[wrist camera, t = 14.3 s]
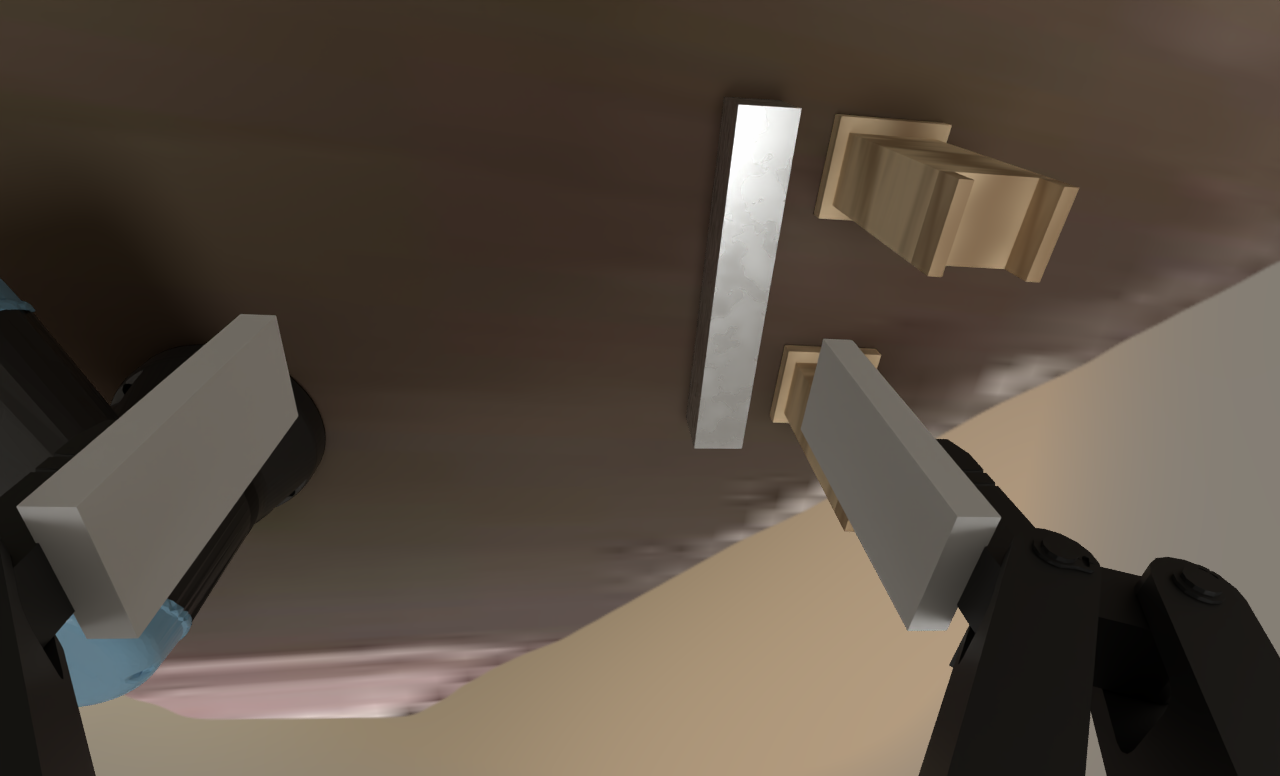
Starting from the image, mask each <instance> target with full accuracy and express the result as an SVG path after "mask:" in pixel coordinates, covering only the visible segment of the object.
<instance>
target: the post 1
mask: <svg viewBox="0 0 1280 776" xmlns="http://www.w3.org/2000/svg"><path fill="white" fill-rule="evenodd" d="M859 349H860V350H861V351H862V352H863V353H864V355H865V356H866V357H867V358H868V359H869V361H870V362H871V363H872V364H873V365H874V367H875V368H876V369H877V367H878V364H879V361H880V357H881V354H880V353H879V352H878V351H877V350H876V349H871V348H859ZM820 350H821V346H798V345H785V347H784V351H783V356H782V360H781V365H780V369H779V374H778V378H777V383H776V388H775V392H774V397H773V401H772V406H771V410H770V417H771V419H772V421H773V422H778V423H789V424H790V426H791V428H792V430H793V432H794V434H795V436H796V438H797V439H798V441H799V443H800V445H801V447H802V449H803V451H804V453H805V455H806V457H807V459H808V461H809V463H810V465H811V467H812V469H813V471H814V473H815V475H816V477H817V479H818V481H819V482H820V484H821V486H822V488H823V490H824V492H825V494H826V496H827V498H828V500H829V502H830V504H831V506H832V508H833V510H834V511H835V514H836V516H837V518H838V519H839V522H840V523H841V525H842V527H843V529H844V531H850V532H855V531H854V529H853V527H852V525H851V523H850V521H849V520H848V518H847V516H846V514H845V512H844V510H843V508H842V506H841V504H840V503H839V501H838V499H837V497H836V495H835V493H834V491H833V489H832V488H831V486H830V484H829V482H828V480H827V478H826V476H825V474H824V473H823V471H822V469H821V467H820V465H819V463H818V461H817V459H816V457H815V456H814V454H813V452H812V450H811V448H810V446H809V444H808V442H807V441H806V439H805V437H804V435H803V433H802V431H801V425H802V422H803V418H804V414H805V410H806V406H807V402H808V398H809V394H810V390H811V386H812V382H813V378H814V374H815V370H816V366H817V362H818V358H819V354H820Z"/></svg>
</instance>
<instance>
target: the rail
mask: <svg viewBox="0 0 1280 776" xmlns="http://www.w3.org/2000/svg"><path fill="white" fill-rule="evenodd" d="M800 114H801V108H799V107H796V106H794V105H791V104H789V103H786V102H784V101H781V100H767V99H751V98H735V97H724V101H723V109H722V118H721V126H720V135H719V143H718V152H717V160H716V168H715V177H714V185H713V194H712V202H711V211H710V219H709V228H708V236H707V245H706V253H705V262H704V270H703V279H702V287H701V295H700V304H699V312H698V321H697V329H696V338H695V346H694V355H693V363H692V372H691V380H690V389H689V397H688V406H687V414H686V419H687V423H688V426H689V430H690V434H691V438H692V442H693V445H694V448H729V449H742V444H743V439H744V433H745V427H746V422H747V416H748V410H749V404H750V399H751V393H752V387H753V382H754V376H755V370H756V364H757V359H758V353H759V347H760V342H761V336H762V330H763V325H764V319H765V313H766V307H767V302H768V296H769V290H770V285H771V279H772V273H773V268H774V262H775V256H776V250H777V245H778V239H779V233H780V228H781V222H782V216H783V211H784V205H785V199H786V193H787V188H788V182H789V176H790V171H791V165H792V159H793V154H794V148H795V142H796V136H797V131H798V125H799V119H800Z"/></svg>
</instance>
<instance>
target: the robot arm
mask: <svg viewBox="0 0 1280 776" xmlns="http://www.w3.org/2000/svg"><path fill="white" fill-rule="evenodd" d="M35 311H36V310H35V309H34V308H33V307H32V305H31V304H29V303H27V302H25V301H21V300H20V299H19V298H18V297H17V295H16V294H15V293H14V292H13V291H12V290H11V289H10V288H9V287H8V286H7V285H6V283H5V282H4V281H3V280H2V279H1V278H0V776H96V775H95V771H94V767H93V764H92V760H91V756H90V752H89V748H88V744H87V740H86V736H85V732H84V728H83V724H82V720H81V716H80V713H79V709H78V707H82V706H88V705H94V704H98V703H102V702H106V701H109V700H112V699H114V698H117V697H120V696H122V695H124V694H126V693H128V692H130V691H132V690H134V689H135V688H137V687H138V686H140V685H141V684H143V683H144V682H145V681H146V680H147V679H149V678H150V677H151V676H152V675H153V674H154V672H155V671H156V670H157V669H158V667H159V666H160V665H161V663H162V662H163V661H164V659H165V658H166V657H167V656H168V654H169V653H170V652H171V650H172V649H173V648H174V647H175V645H176V644H177V643H178V641H180V640H181V639H182V638H183V637H184V636H185V635H186V634H187V633H188V631H189V629H190V627H191V625H192V621H193V619H194V618H195V616H196V615H197V613H198V612H199V610H200V608H201V607H202V605H203V604H204V602H205V601H206V599H207V597H208V596H209V594H210V593H211V591H212V589H213V588H214V586H215V585H216V583H217V582H218V580H219V578H220V577H221V575H222V574H223V572H224V570H225V569H226V567H227V566H228V564H229V563H230V561H231V559H232V558H233V556H234V555H235V553H236V552H237V550H238V548H239V547H240V545H241V544H242V542H243V541H244V539H245V538H246V536H247V535H248V533H249V532H250V530H251V529H252V527H253V525H254V524H255V523H257V522H258V521H260V520H261V519H262V518H264V517H265V516H266V515H268V514H269V513H270V512H271V511H272V510H273V508H275V507H277V506H279V505H281V504H283V503H285V502H287V501H288V500H290V499H291V498H292V497H294V496H295V495H296V494H297V493H299V492H300V491H301V490H302V489H303V487H304V486H305V485H306V484H307V483H308V481H309V480H310V478H311V477H312V475H313V473H314V472H315V470H316V468H317V467H318V465H319V463H320V461H321V459H322V456H323V453H324V447H325V432H324V427H323V423H322V420H321V417H320V415H319V412H318V410H317V408H316V407H315V405H314V403H313V402H312V400H311V399H310V397H309V396H308V395H307V394H306V392H305V391H304V390H303V389H302V388H301V387H300V386H299V385H298V384H297V383H296V382H295V381H294V380H293V379H292V378H290V376H289V372H288V367H287V363H286V358H285V354H284V349H283V345H282V340H281V336H280V331H279V327H278V322H277V318H276V315H252V314H240V315H239V316H238V317H237V318H235V319H234V320H233V321H232V322H231V323H230V324H228V325H227V326H226V327H225V328H224V329H223V330H221V331H220V332H219V333H218V334H217V335H216V336H214V337H213V338H212V339H211V340H210V341H209V342H207V343H206V344H205V345H189V346H182V347H177V348H173V349H169V350H167V351H164V352H162V353H159V354H157V355H156V356H154V357H152V358H151V359H149V360H148V361H146V362H145V363H144V364H143V365H141V366H140V367H139V368H138V369H136V370H135V371H134V372H133V373H131V374H130V375H129V376H128V377H127V378H126V379H125V380H124V381H123V383H122V384H121V385H120V387H119V388H118V390H117V392H116V393H115V396H114V398H113V400H112V403H111V406H109V404H108V403H107V402H106V401H105V400H104V398H103V397H102V396H101V395H100V393H99V392H98V391H97V390H96V389H95V387H94V386H93V385H92V384H91V383H90V381H89V380H88V379H87V378H86V376H85V375H84V374H83V373H82V372H81V370H80V369H79V368H78V367H77V365H76V364H75V363H74V362H73V361H72V359H71V358H70V357H69V356H68V355H67V353H66V352H65V351H64V350H63V348H62V347H61V346H60V345H59V344H58V342H57V341H56V340H55V339H54V338H53V336H52V335H51V334H50V333H49V331H48V330H47V329H46V328H45V327H44V325H43V324H42V323H41V322H40V321H39V319H38V318H37V317H36V316H35V314H34V313H33V312H35ZM801 431H802V433H803V435H804V437H805V439H806V441H807V442H808V444H809V446H810V448H811V450H812V452H813V454H814V456H815V457H816V459H817V461H818V463H819V465H820V467H821V469H822V471H823V473H824V474H825V476H826V478H827V480H828V482H829V484H830V486H831V488H832V489H833V491H834V493H835V495H836V497H837V499H838V501H839V503H840V504H841V506H842V508H843V510H844V512H845V514H846V516H847V518H848V520H849V521H850V523H851V525H852V527H853V529H854V531H855V533H856V535H857V536H858V538H859V540H860V542H861V544H862V546H863V548H864V550H865V552H866V553H867V555H868V557H869V559H870V561H871V563H872V565H873V567H874V568H875V570H876V572H877V574H878V576H879V578H880V580H881V582H882V583H883V585H884V587H885V589H886V591H887V593H888V595H889V597H890V599H891V600H892V602H893V604H894V606H895V608H896V610H897V612H898V614H899V615H900V617H901V619H902V621H903V623H904V625H905V627H906V629H907V630H908V631H930V630H932V631H933V630H934V631H936V630H947V629H948V627H949V625H950V623H951V620H952V618H953V616H954V614H955V612H956V610H957V608H959V609H960V611H961V612H962V614H963V615H964V617H965V619H966V620H967V622H968V623H969V627H968V629H967V631H966V633H965V635H964V637H963V639H962V641H961V643H960V645H959V647H958V649H957V651H956V653H955V655H954V657H953V658H952V660H951V662H950V666H951V667H953V670H952V674H951V676H950V680H949V683H948V686H947V689H946V692H945V695H944V698H943V701H942V704H941V708H940V711H939V714H938V717H937V721H936V723H935V726H934V729H933V733H932V735H931V739H930V742H929V745H928V748H927V751H926V754H925V757H924V760H923V763H922V767H921V770H920V773H919V776H1085V770H1086V758H1087V747H1088V735H1089V724H1090V723H1089V722H1090V712H1091V714H1092V718H1093V722H1094V726H1095V730H1096V734H1097V738H1098V742H1099V746H1100V750H1101V754H1102V758H1103V762H1104V766H1105V770H1106V774H1107V776H1280V657H1279V656H1278V654H1277V652H1276V650H1275V649H1274V647H1273V645H1272V644H1271V642H1270V640H1269V638H1268V637H1267V635H1266V633H1265V632H1264V630H1263V628H1262V626H1261V625H1260V623H1259V621H1258V620H1257V618H1256V616H1255V614H1254V613H1253V611H1252V609H1251V608H1250V606H1249V604H1248V602H1247V601H1246V600H1245V598H1244V597H1243V596H1242V595H1241V594H1240V592H1239V591H1238V590H1237V589H1236V588H1234V586H1232V585H1231V584H1230V583H1228V582H1227V581H1226V580H1224V579H1223V578H1222V577H1221V576H1220V575H1218V574H1216V573H1215V572H1213V571H1209V569H1207V568H1205V567H1203V566H1201V565H1197V564H1194V563H1191V562H1188V561H1186V560H1182V559H1176V558H1170V557H1163V558H1156V559H1155V560H1154V561H1152V562H1151V563H1150V565H1149V566H1148V567H1147V569H1146V570H1145V572H1144V573H1143V575H1142V576H1137V575H1133V574H1129V573H1125V572H1121V571H1116V570H1112V569H1108V568H1103V567H1100V564H1099V563H1098V561H1097V560H1096V559H1095V558H1094V557H1093V555H1092V554H1091V553H1090V552H1089V551H1088V550H1086V549H1085V548H1084V547H1082V546H1081V545H1080V544H1079V543H1077V542H1075V541H1073V540H1072V539H1069V538H1068V537H1066V536H1064V535H1062V534H1059V533H1056V532H1053V531H1050V530H1046V529H1040V528H1035V527H1034V526H1033V525H1032V524H1031V523H1030V521H1029V520H1028V519H1027V518H1026V517H1025V516H1024V515H1023V514H1022V513H1021V511H1020V510H1019V509H1018V508H1017V507H1016V506H1015V505H1014V504H1013V502H1012V501H1011V500H1010V499H1009V498H1008V497H1007V496H1006V495H1005V493H1004V492H1003V491H1002V490H1001V489H1000V488H999V487H998V486H995V482H994V481H993V480H992V479H991V478H990V477H989V476H988V474H987V473H983V469H982V468H981V466H980V465H978V463H977V462H976V461H975V460H974V459H973V458H972V456H971V455H970V454H969V453H967V452H965V451H964V450H963V449H961V448H960V447H958V446H957V445H955V444H954V443H952V442H951V441H949V440H947V439H935V438H934V437H933V435H932V434H931V433H930V432H929V431H928V429H927V428H926V427H925V426H924V425H923V424H922V422H921V421H920V420H919V419H918V418H917V416H916V415H915V414H914V413H913V412H912V410H911V409H910V408H909V407H908V406H907V405H906V403H905V402H904V401H903V400H902V399H901V397H900V396H899V395H898V394H897V393H896V391H895V390H894V389H893V388H892V387H891V386H890V384H889V383H888V382H887V381H886V380H885V378H884V377H883V376H882V375H881V374H880V372H879V371H878V370H877V369H876V368H875V367H874V365H873V364H872V363H871V362H870V361H869V359H868V358H867V357H866V356H865V355H864V353H863V352H862V351H861V350H860V349H859V348H858V346H857V345H856V344H855V343H854V342H853V340H838V339H823V342H822V346H821V350H820V354H819V358H818V362H817V366H816V370H815V374H814V378H813V382H812V386H811V390H810V394H809V398H808V402H807V406H806V410H805V414H804V418H803V422H802V425H801Z"/></svg>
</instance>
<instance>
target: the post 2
mask: <svg viewBox="0 0 1280 776" xmlns="http://www.w3.org/2000/svg"><path fill="white" fill-rule="evenodd" d="M951 126H952V125H949V124H946V123H940V122H928V121H916V120H904V119H892V118H880V117H868V116H856V115H844V114H835V119H834V123H833V128H832V133H831V137H830V142H829V146H828V151H827V155H826V160H825V164H824V169H823V174H822V178H821V183H820V187H819V192H818V196H817V201H816V205H815V210H814V215H815V216H816V217H818V218H821V219H836V220H852V221H854V222H855V223H857V224H858V225H859V226H861V227H862V228H863V229H865V230H866V231H867V232H869V233H870V234H871V235H873V236H874V237H876V238H877V239H878V240H880V241H881V242H882V243H884V244H885V245H886V246H888V247H889V248H890V249H892V250H893V251H894V252H896V253H897V254H898V255H900V256H901V257H902V258H904V259H905V260H907V261H908V262H909V263H911V264H912V265H913V266H915V267H916V268H917V269H919V270H920V271H921V272H923V273H924V274H925V275H927V276H933V277H942V275H943V272H944V269H945V266H961V267H979V268H996V269H1005V270H1007V271H1009V272H1010V273H1012V274H1014V275H1015V276H1017V277H1019V278H1021V279H1022V280H1024V281H1026V282H1040V280H1041V278H1042V275H1043V273H1044V270H1045V268H1046V266H1047V263H1048V261H1049V258H1050V256H1051V254H1052V251H1053V249H1054V247H1055V244H1056V242H1057V239H1058V237H1059V235H1060V232H1061V230H1062V228H1063V225H1064V223H1065V220H1066V218H1067V216H1068V213H1069V211H1070V209H1071V206H1072V204H1073V201H1074V199H1075V197H1076V194H1077V192H1078V190H1079V187H1076V186H1073V185H1070V184H1067V183H1064V182H1061V181H1058V180H1055V179H1052V178H1049V177H1046V176H1043V175H1040V174H1037V173H1034V172H1031V171H1028V170H1025V169H1022V168H1019V167H1016V166H1013V165H1010V164H1007V163H1004V162H1001V161H998V160H996V159H993V158H990V157H987V156H984V155H981V154H978V153H975V152H972V151H969V150H966V149H963V148H960V147H957V146H954V145H951V144H948V143H946V142H947V139H948V136H949V133H950V129H951Z"/></svg>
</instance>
